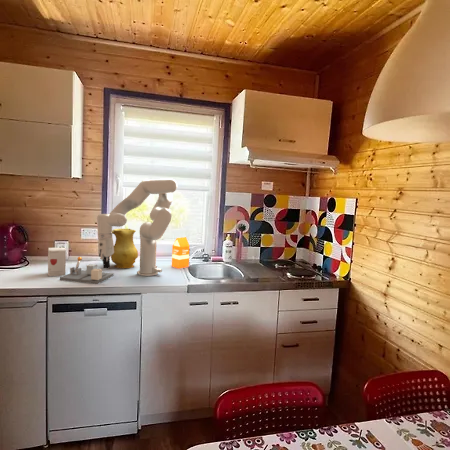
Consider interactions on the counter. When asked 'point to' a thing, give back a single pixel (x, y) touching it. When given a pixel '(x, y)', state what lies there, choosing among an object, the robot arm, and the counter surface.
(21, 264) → the counter surface
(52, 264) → the supplement box
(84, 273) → the panel
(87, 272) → the white cube
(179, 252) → the orange juice
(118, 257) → the pitcher
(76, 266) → the lever
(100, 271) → the cream slider
